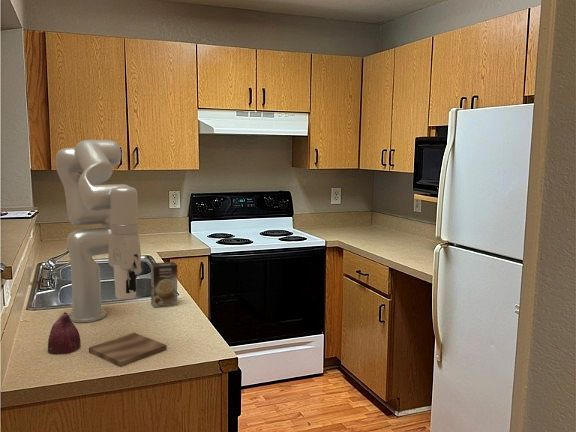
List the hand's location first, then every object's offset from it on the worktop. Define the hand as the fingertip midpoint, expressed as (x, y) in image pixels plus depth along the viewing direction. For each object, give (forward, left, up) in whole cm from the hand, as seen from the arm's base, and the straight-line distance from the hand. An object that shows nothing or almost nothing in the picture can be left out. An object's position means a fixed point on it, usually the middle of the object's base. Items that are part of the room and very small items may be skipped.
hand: (126, 290), depth 152 cm
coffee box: (-28, +36, -19) cm, 49 cm away
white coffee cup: (0, 0, -2) cm, 2 cm away
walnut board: (0, 0, -19) cm, 19 cm away
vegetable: (-16, -11, -19) cm, 27 cm away
